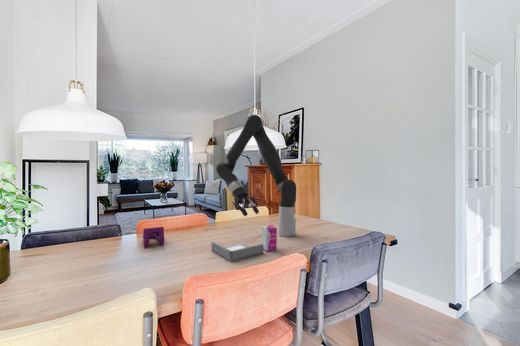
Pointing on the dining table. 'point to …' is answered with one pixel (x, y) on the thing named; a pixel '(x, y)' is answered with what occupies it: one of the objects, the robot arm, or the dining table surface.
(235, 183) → the robot arm
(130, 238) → the dining table surface
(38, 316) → the dining table surface
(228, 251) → the corner tray
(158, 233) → the mounting bracket
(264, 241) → the supplement box
